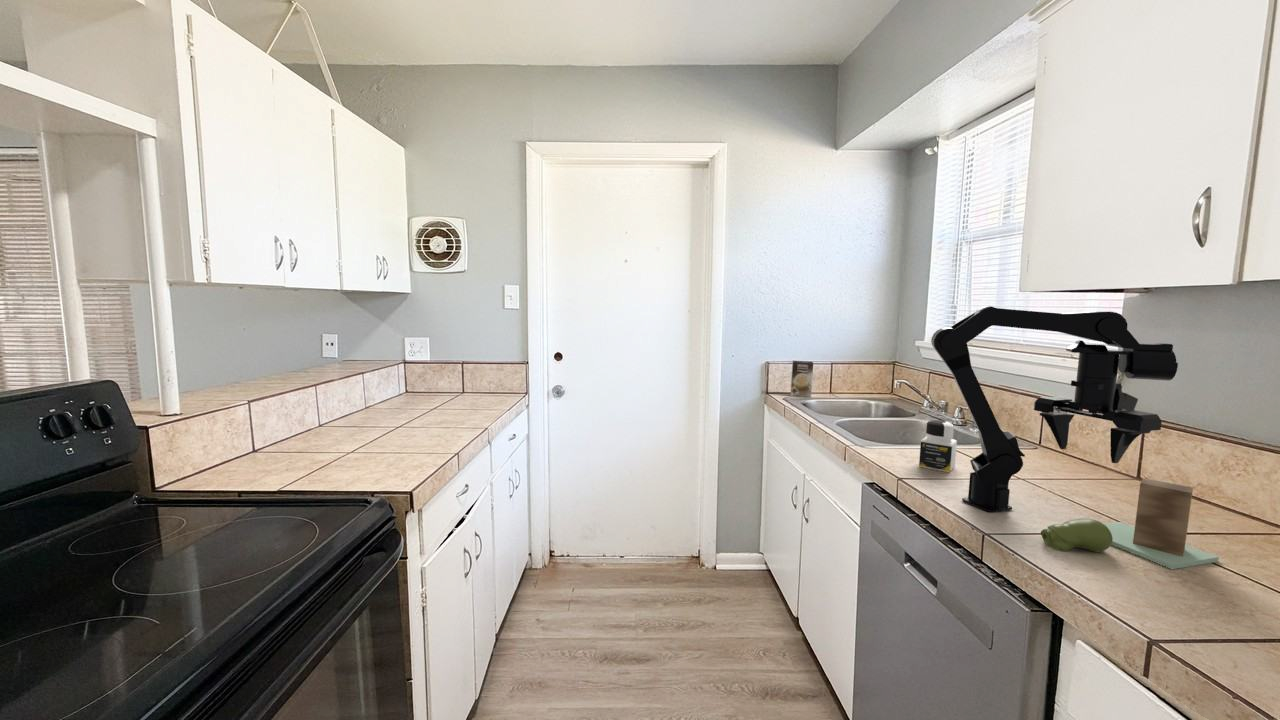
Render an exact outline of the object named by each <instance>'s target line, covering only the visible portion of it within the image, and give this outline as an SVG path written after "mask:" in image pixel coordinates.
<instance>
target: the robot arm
mask: <svg viewBox="0 0 1280 720" xmlns="http://www.w3.org/2000/svg"><path fill="white" fill-rule="evenodd" d="M993 326H995V327H1003V328H1004V327H1006V328H1017V329H1023V330H1024V329H1025V330H1037V331H1047V332H1057V333H1060V334H1061V333H1062V334H1065V335H1069V336H1073V337H1077V338H1080V339H1085V340H1090V341H1094V342H1100V343H1104V344H1106V345H1107V346H1109V347H1110V346H1111V347H1115V348H1121V349H1122V350H1116V349H1115V350H1114V349H1113V350H1110V349H1108V347H1107V346H1106V345H1104V344H1089V343H1088V344H1087V343H1085V342H1084V341H1083V340H1080V339H1077V340H1076V341H1075V342H1073V344H1071V345H1069V346H1067V347H1066V349H1065V350H1066V352H1069V353H1075V354H1078V355H1079V356H1078V362H1077V363H1078V364H1077V372H1076V380H1071V382H1070V386H1071V387H1075V390H1074V398H1073V399H1074V400H1073V399H1072V398H1071V399H1070V398H1066V397H1060V396H1039V397H1038V398H1037V399H1036V400H1035V401H1034V405H1033V411H1034V412H1035V411H1036V412H1039V416H1041V417H1043V418H1044V420H1045V422H1046V424H1047V425H1048V427H1049V429H1050V430H1051V432H1052V434H1053V436H1054V439H1055V441H1056V442H1057V445H1058V448H1059V449H1060V450H1061V451H1062V450H1066V449H1067V446H1068V441H1069V429H1070V423H1071V421H1072V420H1073V418H1074V417H1075V415H1078V416H1079V415H1080V416H1084V417H1090V418H1094V419H1101V420H1105V421H1110V422H1112V423H1113V424H1114V426H1115V427H1110V433H1109V434H1110V437H1109V438H1110V461H1111V463H1112V464H1118V463H1119V462H1120V460H1121V459H1122V457H1124V454H1125V453H1126V452H1127V450H1128V448H1129V447H1130V445H1131V444H1132V443H1133V442H1134V441H1135V440H1136V439H1137V438H1138V437H1139V436H1141V435H1143V434H1150V433H1151V431H1161V430H1162V429H1161V428H1162V423H1163V422H1162V419H1161V418H1160V416H1159V415H1158V414H1157V413H1152V412H1147V411H1146V412H1145V411H1140V410H1135V408H1136V406H1137V404H1138V401H1139V398H1138V397H1135V396H1133V395H1131V394H1129V393H1126V392H1123V391H1122V389H1123V385H1122V383H1120V382H1117V380H1118V379H1117V378H1118V371H1119V373H1121V374H1124V376H1125V377H1126V378H1127V379H1133V380H1151V381H1153V380H1154V381H1171V380H1173V379H1174V378H1175V376H1176V374H1177V372H1178V366H1179V363H1178V362H1177V356H1176V353H1175V352H1174V351H1173V349H1174V345H1173V344H1172V343H1162V342H1161V343H1159V342H1158V343H1140V342H1139V341H1138V339H1136V338H1135V337H1134V335H1133V334H1132V333H1131V332H1130V331H1129V330H1128V322H1127V319H1126V318H1125V317H1124V316H1123V315H1122V314H1121V313H1118V312H1115V311H1101V310H1100V311H1098V310H1097V311H1081V312H1080V311H1078V312H1077V311H1076V312H1063V313H1061V312H1060V313H1059V312H1058V313H1057V312H1046V311H1033V310H1023V309H1010V308H998V307H994V306H991V305H989V306H988V305H987V306H981V307H979V308H978V309H976V310H975V312H973V313H971V314H969V315H968V316H966V317H965V318H963V319H961V320H960V321H958V322H956V323H955V324H953V325H952V326H950V327H942V328H939V329H937V330H936V331H935V332H934V333H933V335H932V336H931V341H930V342H931V346H932V347H933V349H934V350H935V352H936V353H937V354H938V356H939V357H940V359H941V360H942V361H943V363H944V364H945V366H946V367H947V368H948V369H949V371H950V372H951V374H952V376H953V378H954V381H955V382H956V385H957V387H958V390H959V391H960V394H961V397H962V398H963V401H964V403H965V405H966V406H967V407H966V408H967V409H968V411H969V414H970V415H971V417H972V420H973V422H974V424H975V426H976V428H977V432H978V436H979V442H980V447H981V450H982V452H981V453H980V454H978V455H977V456H975V457H974V458H972V459H970V464H971V468H972V470H973V471H974V472H970V473H969V484H968V486H969V487H968V495H967V496H968V497H963V498H961V501H962V502H964V503H967V504H969V505H971V506H974V507H977V508H978V509H981V510H982V511H985V512H988V513H991V512H1000V511H1009V510H1013V506H1011V505H1010V503H1009V501H1010V492H1011V491H1010V489H1009V482H1010V480H1011V478H1012V476H1014V475H1016V474H1018V473H1019V472H1020V471H1021V470H1022V468H1023V467H1024V462H1023V458H1022V457H1026V455H1025V453H1023V452H1022V451H1021V449H1020V447H1019V442H1018V440H1017V439H1018V438H1017V437H1016V436H1015V434H1013V432H1011V431H1010V430H1007V431H1006V432H1003V430H1002V429H1001V427H1000V425H999V423H998V421H997V419H996V416H995V414H994V412H993V411H992V407H991V405H990V403H989V402H988V398H987V397H986V395H985V393H984V390H983V389H982V386H981V385H980V382H979V380H978V378H977V376H976V374H975V371H974V369H973V367H972V364H971V356H970V350H969V346H968V343H969V342H971V341H972V340H973V339H975V338H977V336H979V335H981V334H982V333H983V332H984V331H986V330H987V329H989V328H990V327H993ZM1087 410H1088V411H1087Z"/></svg>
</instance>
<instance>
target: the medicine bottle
mask: <svg viewBox="0 0 1280 720" xmlns="http://www.w3.org/2000/svg"><path fill="white" fill-rule="evenodd" d="M954 429H955V427H954V425H953V423H952V422H950V421H945V420H938V419H937V420H936V419H935V420H934V419H933V420H930V421H927V422H926V431H925V434H926V436H925V437H924V438H922V439H921V440H920V447H919V448H920V449H919V461H918V462H919V463H918V466H919V467H921V468H924V469H930V470H935V471H940V472H945V473H951V472H952V470H953V469H954V468H955V466H956V460H957V459H956V456H957V445H958V440H956V439H954Z"/></svg>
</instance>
